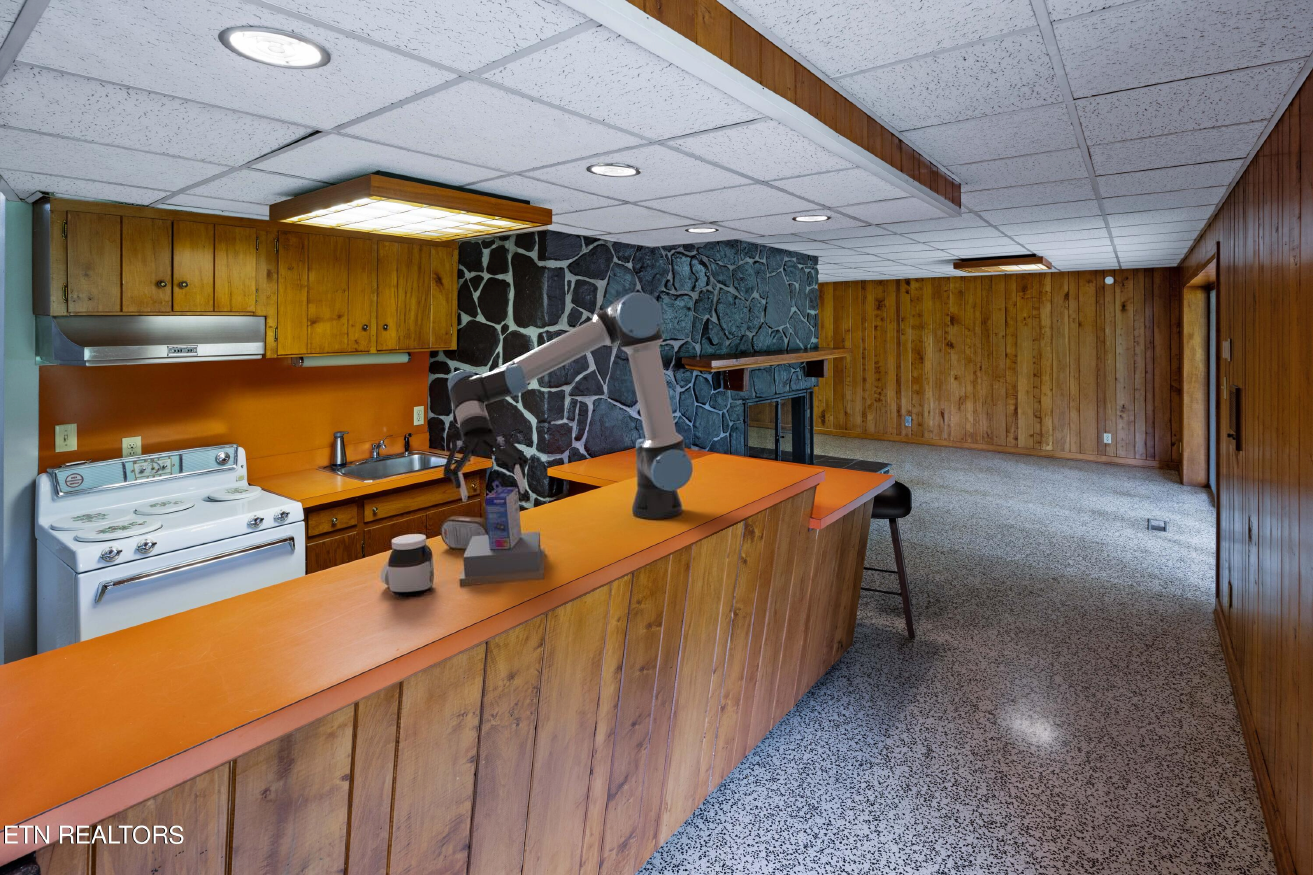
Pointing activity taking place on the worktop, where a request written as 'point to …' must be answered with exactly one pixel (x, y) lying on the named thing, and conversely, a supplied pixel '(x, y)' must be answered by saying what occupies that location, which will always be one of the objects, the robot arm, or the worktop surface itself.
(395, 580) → the spread jar
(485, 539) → the block
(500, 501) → the ink cartridge box
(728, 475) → the worktop surface
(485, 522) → the tin
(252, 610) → the worktop surface
